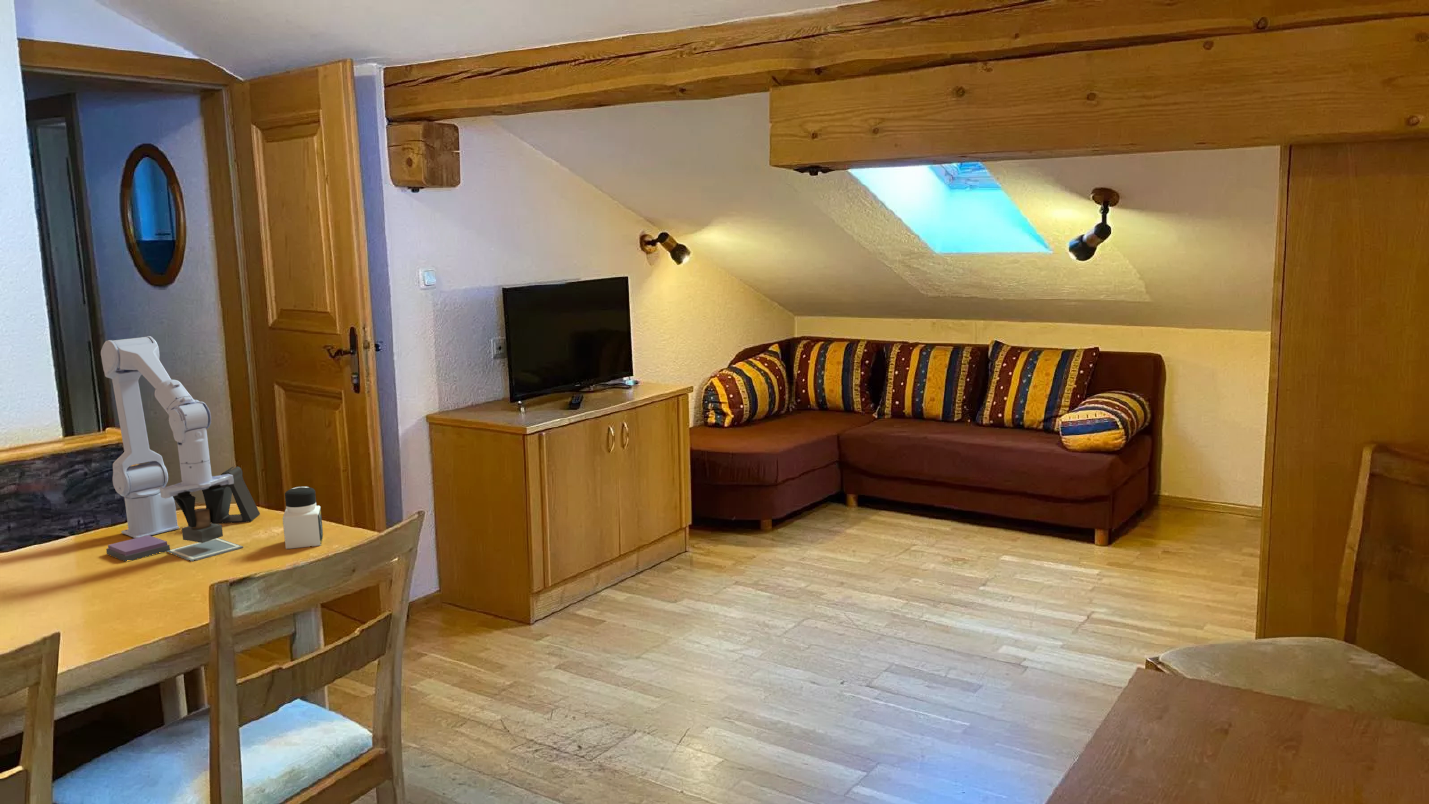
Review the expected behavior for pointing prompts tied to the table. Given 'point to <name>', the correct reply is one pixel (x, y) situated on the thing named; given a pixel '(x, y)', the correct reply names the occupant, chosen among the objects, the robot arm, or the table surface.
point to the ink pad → (137, 548)
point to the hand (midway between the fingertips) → (202, 523)
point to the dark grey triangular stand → (241, 497)
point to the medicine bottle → (302, 519)
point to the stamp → (202, 528)
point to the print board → (204, 549)
